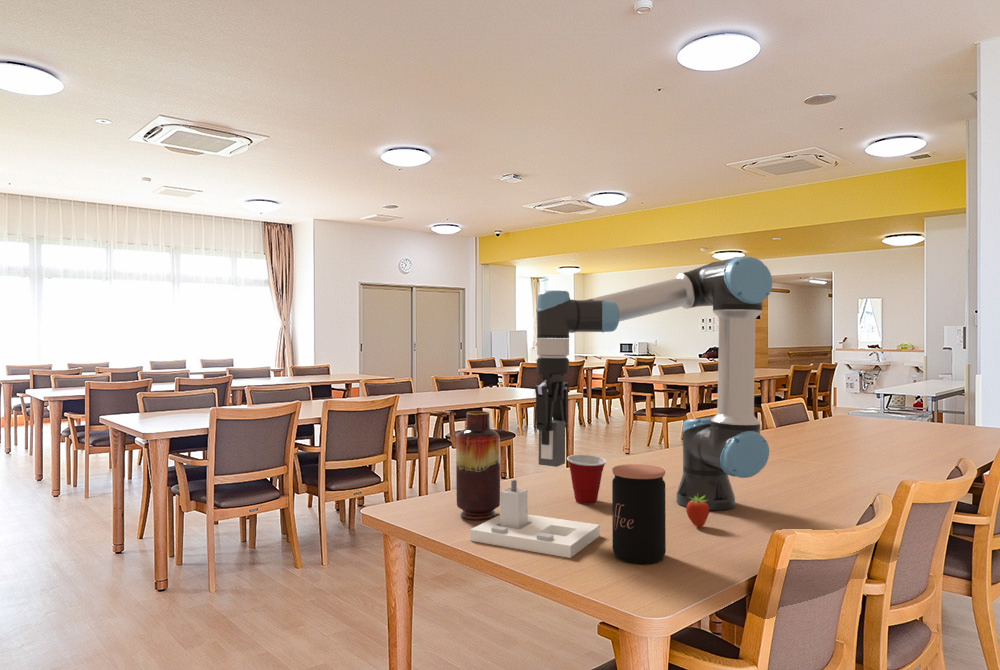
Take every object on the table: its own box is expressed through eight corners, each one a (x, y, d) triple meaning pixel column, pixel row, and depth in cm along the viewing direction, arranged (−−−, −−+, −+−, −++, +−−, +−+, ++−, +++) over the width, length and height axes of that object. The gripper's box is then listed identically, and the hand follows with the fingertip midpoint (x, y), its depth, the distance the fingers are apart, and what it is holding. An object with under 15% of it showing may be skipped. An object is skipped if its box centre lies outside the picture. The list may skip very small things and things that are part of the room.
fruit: (705, 531, 153) (705, 497, 153) (683, 528, 156) (683, 494, 156) (711, 525, 157) (711, 492, 157) (690, 522, 160) (690, 489, 160)
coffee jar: (606, 549, 141) (606, 464, 141) (655, 547, 142) (655, 463, 142) (620, 566, 130) (619, 475, 130) (673, 564, 131) (672, 474, 131)
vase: (467, 523, 160) (467, 416, 160) (449, 513, 170) (449, 411, 170) (507, 517, 165) (507, 413, 165) (488, 507, 175) (487, 409, 175)
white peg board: (599, 535, 150) (599, 481, 150) (570, 558, 135) (570, 497, 135) (506, 521, 162) (506, 470, 162) (470, 540, 147) (470, 484, 147)
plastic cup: (586, 508, 173) (586, 463, 173) (558, 500, 182) (558, 457, 182) (615, 502, 180) (615, 458, 180) (587, 494, 188) (586, 452, 188)
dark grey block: (565, 463, 155) (565, 420, 155) (556, 466, 151) (556, 423, 151) (547, 461, 157) (547, 419, 157) (538, 464, 154) (538, 421, 154)
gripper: (555, 355, 164) (554, 449, 164) (520, 357, 149) (519, 461, 149) (583, 356, 160) (582, 452, 160) (550, 358, 145) (549, 464, 145)
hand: (552, 456), depth 154 cm, fingers closed on dark grey block, 5 cm apart
